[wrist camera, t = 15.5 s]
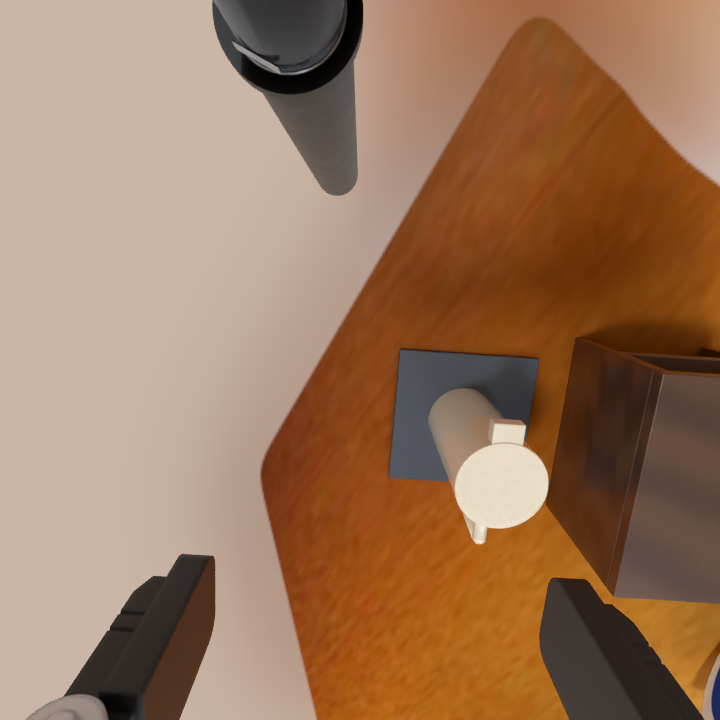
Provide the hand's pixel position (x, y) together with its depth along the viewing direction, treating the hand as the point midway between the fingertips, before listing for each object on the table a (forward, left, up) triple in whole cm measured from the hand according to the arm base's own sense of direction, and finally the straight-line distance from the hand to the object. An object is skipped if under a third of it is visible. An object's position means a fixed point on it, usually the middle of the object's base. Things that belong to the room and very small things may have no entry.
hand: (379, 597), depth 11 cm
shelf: (+6, +24, -30) cm, 39 cm away
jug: (+6, +9, -30) cm, 32 cm away
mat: (+6, +9, -30) cm, 32 cm away
